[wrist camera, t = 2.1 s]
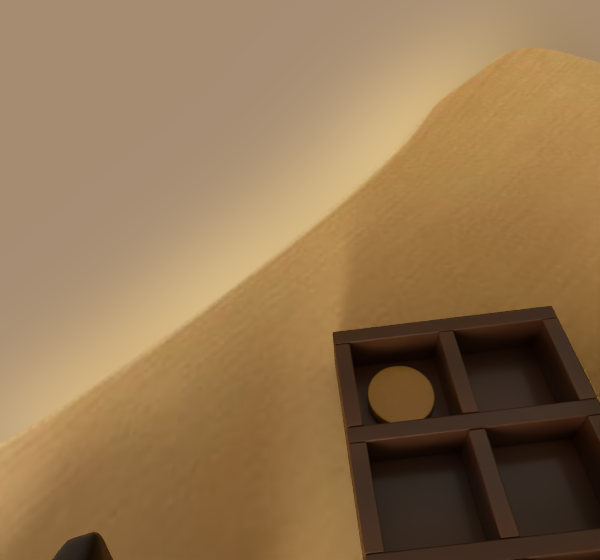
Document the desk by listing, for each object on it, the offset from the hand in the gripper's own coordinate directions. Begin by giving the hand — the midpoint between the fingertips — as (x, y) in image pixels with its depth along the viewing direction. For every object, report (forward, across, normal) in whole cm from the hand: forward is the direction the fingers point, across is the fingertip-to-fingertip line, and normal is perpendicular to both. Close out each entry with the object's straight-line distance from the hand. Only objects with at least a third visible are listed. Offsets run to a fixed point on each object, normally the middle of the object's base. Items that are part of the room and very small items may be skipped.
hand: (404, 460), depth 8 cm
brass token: (+14, -4, +10) cm, 17 cm away
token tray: (+9, -5, +12) cm, 16 cm away
